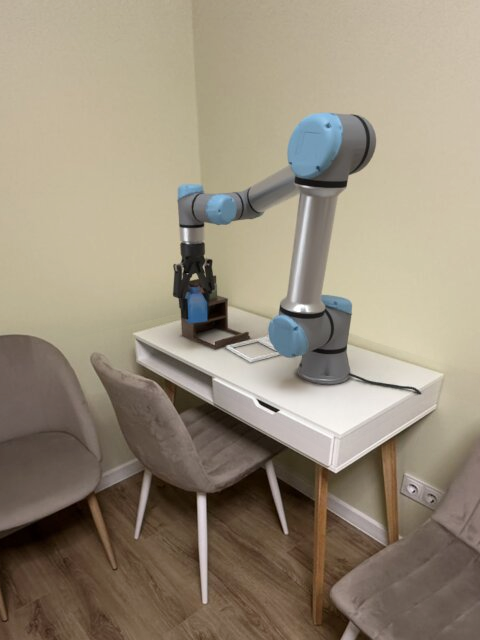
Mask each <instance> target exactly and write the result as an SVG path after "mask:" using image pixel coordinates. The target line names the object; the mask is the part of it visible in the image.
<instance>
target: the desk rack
mask: <svg viewBox="0 0 480 640" xmlns="http://www.w3.org/2000/svg"><path fill="white" fill-rule="evenodd" d="M213 278H214V285H215V290H212V294H210V303H209V314H207V321H205V322H197V323H188V322H187V321H186V320H185V319H184V318H182V317H181V316H180V325H181V336H182V337H184V338H186V339H189V340H191V341H194V342H196V343H198V344H200V345H203V346H205V347H208V348H210V349H213V350H218V349H219V350H220V349H222V348H226V346H227V345H232V344H236V343H240V342H245V341H248V340H251V336H250V332H249V331H244V332H240V331H237V330H236V329H232V328H229V320H228V318H229V315H228V314H229V311H228V309H229V307H228V303H229V302H228V301H229V298H228V297H224V296H222V295H218V283H217V275H214V274H213ZM191 281H197V282H199V286H200V290H199V292H200V293H203V292H204V291H203V289H202V286H201V283H200V281H199V278H195V279H190V282H191ZM189 286H190V284H189ZM189 286H188V289H187V292H190V290H189ZM213 328H217V329H220V330H222V331H225V332H228V333H230V334H233V335H231V336H228V337H225V338H222V339H219V340H216V341H214V344H213V343H211V342H208V341H206V340H203V339H201V338H199V337H197V335H196V333H199V332H202V331H203V332H204V331H207V330H210V329H213Z"/></svg>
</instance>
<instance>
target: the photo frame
mask: <svg viewBox="0 0 480 640" xmlns="http://www.w3.org/2000/svg"><path fill="white" fill-rule="evenodd" d="M253 343H260V344H261V345H264V346H266V347H267V348H270V349H271V350H274V351H275V352H271V353H268V354H264V355H259V356H255V357H250V356H248V355H246V354H244V353H242V352H241V351H239V350H237V349H235V348H238V347H241V346H247V345H251V344H253ZM225 349H227V350H229V351H230V352H232V353H233V354H236V355H237V356H238V357H241V358H243V359H244V360H245V361H248V362H249V363H253V362H257V361H261V360H265V359H269V358H273V357H276V356H277V357H278V356H282V355H281V354H279V353H278V352H277V351H276V350H275V349H274V346H273V345H272V344H271V342H270V339H269V335H266V336H262V337H257V338H253V339H248V340H244V341H241V342H237V343H234V344H231V345H227V346H225Z"/></svg>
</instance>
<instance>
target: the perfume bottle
mask: <svg viewBox="0 0 480 640" xmlns="http://www.w3.org/2000/svg"><path fill="white" fill-rule="evenodd" d="M189 284H190V286H189V290H190V292H187V293H186V297H185V298H186V299H187V300H188V319H187V320H186V319H185V320H186V321H187V322H188V323H197V322H205V321H207V302H206V300H205V298H204V296H203V294H202V293H200V292H199V290H200V286H199V282H197V281H191V282H189Z"/></svg>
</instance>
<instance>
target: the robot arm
mask: <svg viewBox="0 0 480 640" xmlns="http://www.w3.org/2000/svg"><path fill="white" fill-rule="evenodd" d="M376 147H377V136H376V131H375V129H374V127H373V125H372V123H371V122H370V121H369V120H368V119H367V118H366V117H364V116H361V115H359V114H352V113H351V114H349V113H348V114H347V113H337V112H336V113H335V112H329V111H326V112H315V113H312V114H309V115H307V116H306V117H304V118H302V120H301V121H300V122H299V123H298V124H297V125H296V126H295V128H294V129H293V130H292V133H291V134H290V137H289V140H288V144H287V152H286V153H287V154H286V155H287V162H288V163H287V164H288V165H287V166H284V167H283V168H281V169H279V170H277V171H276V172H273V174H271V175H269V176H267V177H265V178H263V179H261V180H260V181H258V182H256V183H254V184H253V185H251V186H249V187H248V188H246V189H244V190H242V191H232V192H220V193H205V191H204V186H203V185H202V184H199V183H187V184H186V183H185V184H180V185H179V186H178V187H177V199H176V200H177V201H176V202H177V210H178V228H179V241H180V244H179V249H180V256H181V261H180V262H179V263H173V266H172V267H173V273H174V274H173V287H172V297H173V298H177V299H178V308H179V310H180V318H181V317H182V318H184V319H186V320H187V319H188V300H187V299H186V298H185V297H186V293H187V289H188V286H189V282H190V280H191V278H192V277H193V275H195V274H196V276H197V279H199V281H200V283H201V286H202V289H203V291H204V292H203V293H202V294H203V296H204V298H205V300H206V302H207V314H209V303H210V294H212V290H215V285H214V278H213V276H214V271H213V259H212V258H207V257H206V258H205V255H206V243H205V242H204V241H205V240H206V233H205V231H206V230H205V224H213V225H216V226H220V225H222V226H227V225H231V223H232V222H237V221H245V220H255V219H257V218H261V217H262V216H263V215H264V213H265V212H266V211H268V210H270V209H272V208H274V207H276V206H279V205H280V204H282V203H285V202H286V201H288V200H290V199H292V198H295V197H297V196H298V204H297V213H296V221H295V229H294V237H293V246H292V252H291V253H292V254H291V262H290V269H289V277H288V284H287V291H286V292H287V293H286V296H285V297H284V298H282V299H281V300H280V301H279V309H278V314H276V315H275V316H274V317H273V318H272V319H271V320H270V322H269V323H268V326H267V327H268V328H267V336H269V339H270V342H271V344H272V345H273V346H274V349H275V350H276V351H275V350H274V351H275V352H278V353H279V354H281V355H280V356H282V357H285V358H288V359H294V358H297V357H301V359H300V362H299V364H298V367H297V374H298V376H299V377H300V378H301V379H303V381H307V382H308V383H312V384H317V385H338V384H341V383H344V382H346V381H348V380H349V378H350V377H352V378H355V379H357V380H360V381H362V382H365V383H368V384H370V385H376V386H377V385H378V386H383V387H391V388H397V389H403V390H404V389H405V390H412V391H414V392H416V393H417V394H418V395H422V392H421V391H420V390H419V389H418V388H416V387H414V386H409V385H398V384H393V383H385V382H378V381H374V380H369V379H367V378H364V377H362V376H358V375H356V374H353V373H351V367H350V362H349V357H348V352H347V350H348V342H349V336H350V329H351V321H352V315H353V302H352V301H351V300H349V299H348V298H345V297H342V296H338V295H331V294H323V288H324V282H325V276H326V270H327V265H328V264H327V263H328V258H329V252H330V248H331V240H332V235H333V229H334V223H335V217H336V211H337V205H338V200H339V196H340V194H342V193H343V192H344V191H345V190H346V189H347V186H348V181H349V176H351V175H354V174H357V173H359V172H360V171H362V170H364V169H365V168H366V167H367V166H368V164H369V163H370V162H371V161H372V158H373V157H374V154H375V150H376Z"/></svg>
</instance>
